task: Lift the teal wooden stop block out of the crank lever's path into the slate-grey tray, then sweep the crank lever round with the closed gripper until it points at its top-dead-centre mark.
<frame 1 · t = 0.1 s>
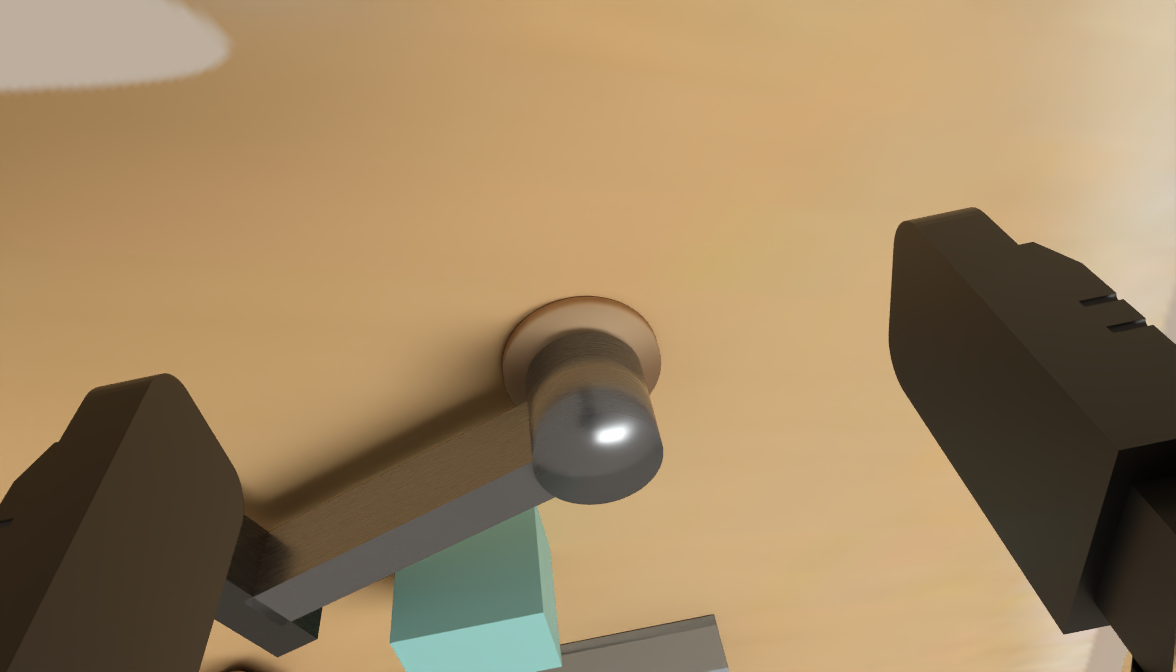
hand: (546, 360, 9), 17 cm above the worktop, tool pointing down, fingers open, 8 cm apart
stop block: (477, 534, 38), on the worktop
crank: (430, 496, 31), point 3 cm above the worktop, hinge at -70.0°
crank base: (580, 360, 32), on the worktop
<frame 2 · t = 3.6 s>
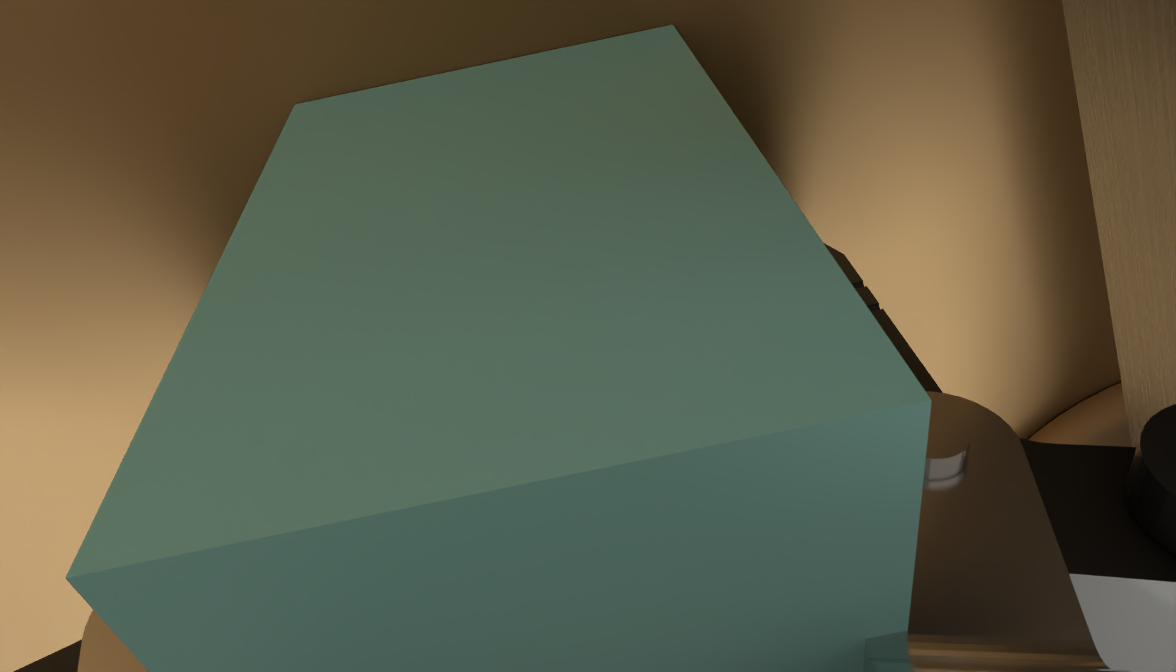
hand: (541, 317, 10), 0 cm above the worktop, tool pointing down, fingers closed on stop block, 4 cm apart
stop block: (542, 299, 10), on the worktop, touching gripper
crank base: (1140, 498, 14), on the worktop
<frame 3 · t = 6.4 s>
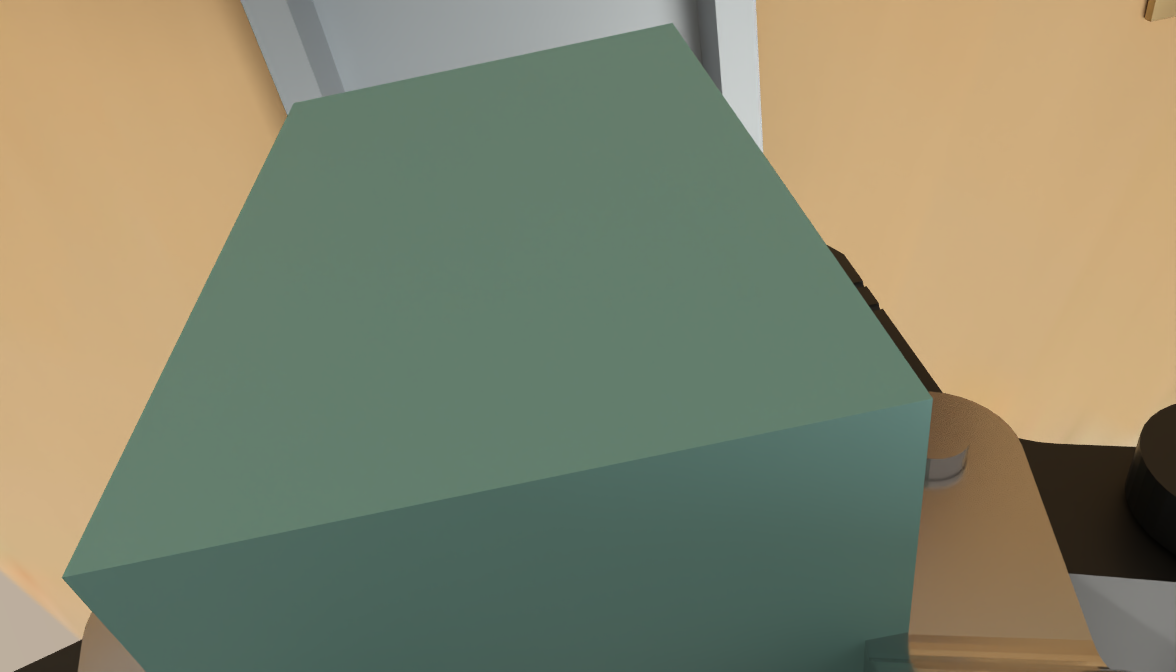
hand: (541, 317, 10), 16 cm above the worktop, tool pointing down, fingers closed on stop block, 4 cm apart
stop block: (541, 299, 10), point 15 cm above the worktop, touching gripper
when the fingers open (2 cm above the worktop, at t = 9.2 s): stop block drops 1 cm, resting on tray.
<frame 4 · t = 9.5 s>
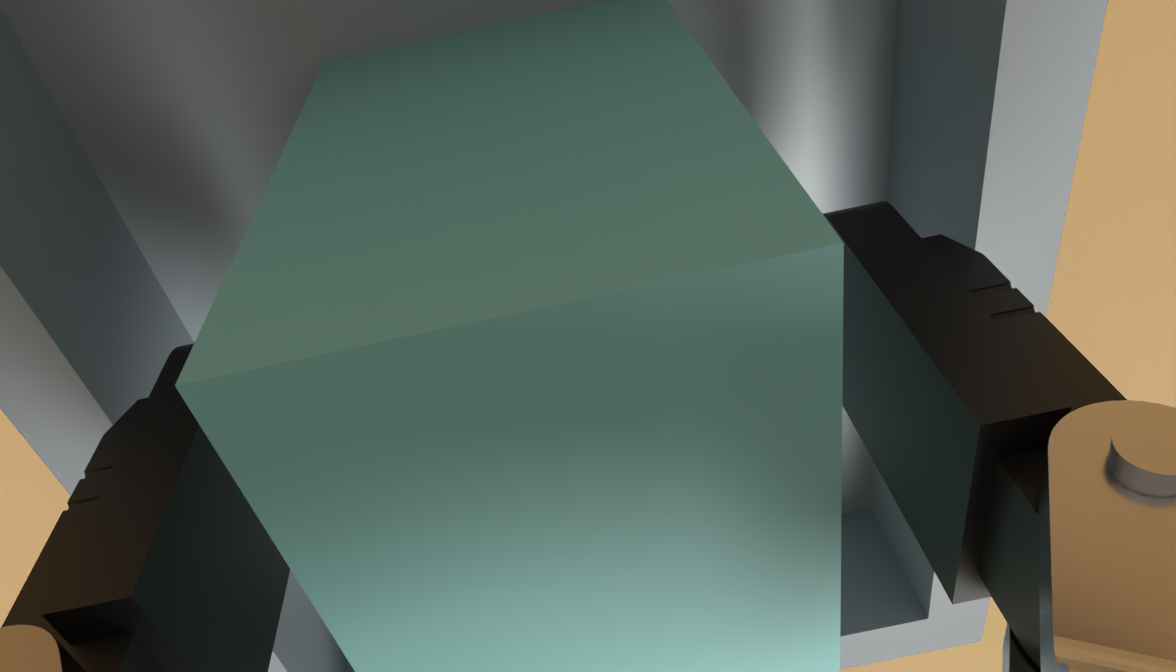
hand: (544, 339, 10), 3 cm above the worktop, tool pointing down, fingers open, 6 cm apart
stop block: (543, 244, 11), point 1 cm above the worktop, touching tray
tray: (530, 225, 12), on the worktop
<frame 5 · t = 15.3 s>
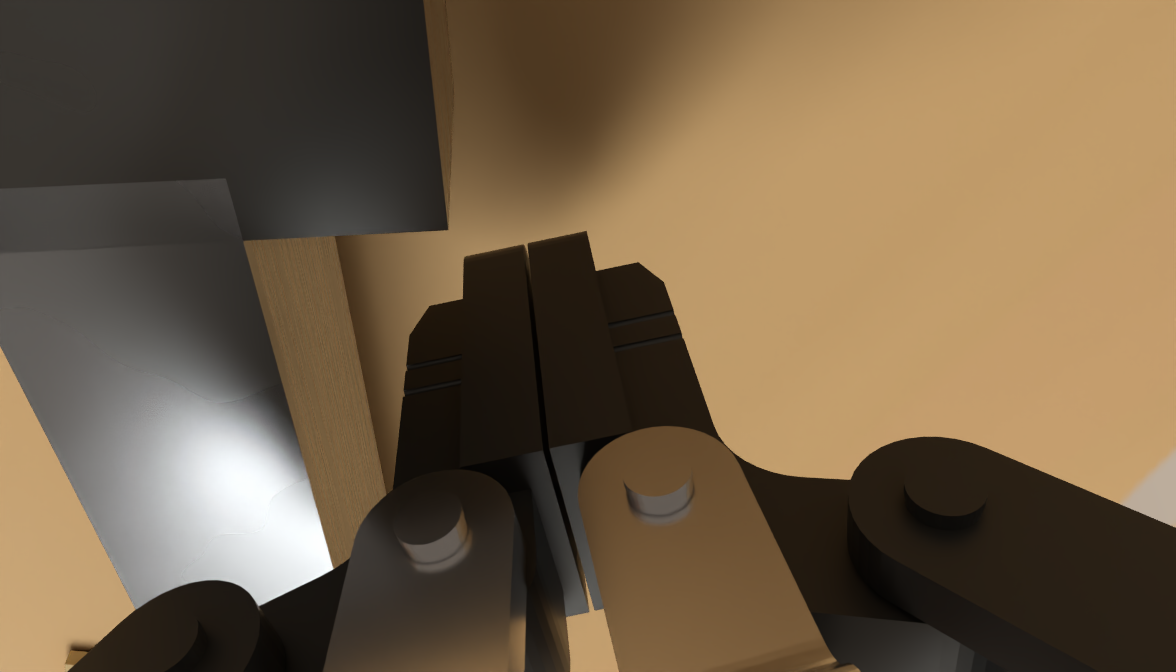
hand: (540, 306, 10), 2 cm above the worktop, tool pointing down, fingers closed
crank: (319, 625, 12), point 3 cm above the worktop, hinge at -70.7°, touching gripper
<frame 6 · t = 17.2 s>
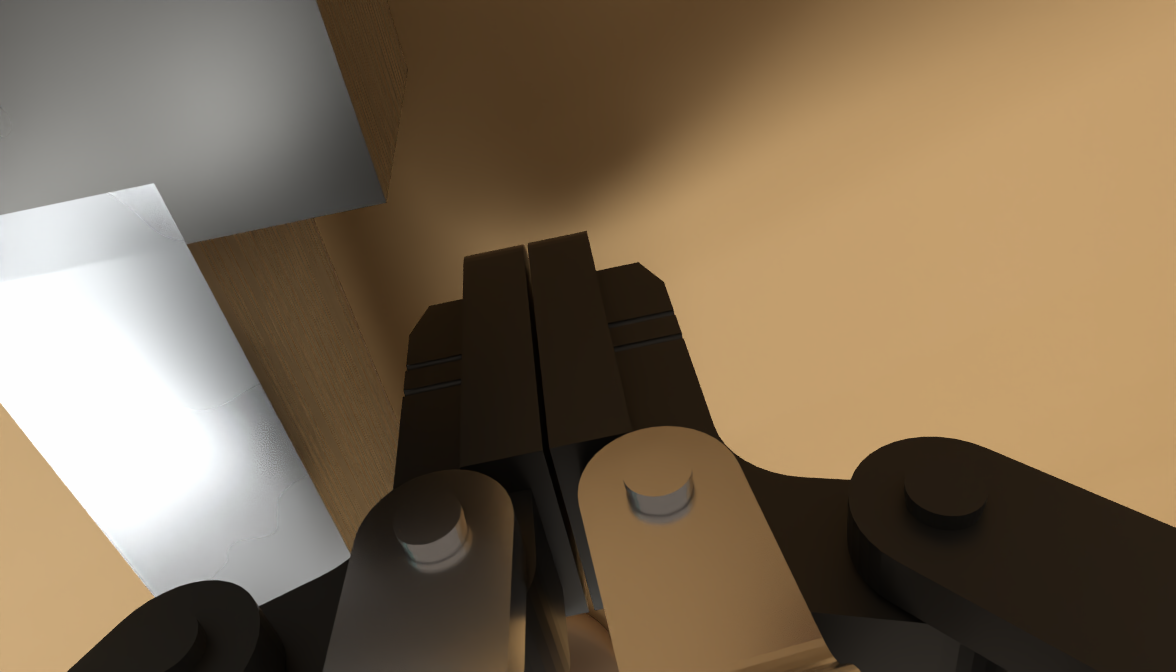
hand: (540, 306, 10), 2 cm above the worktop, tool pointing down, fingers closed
crank: (377, 622, 12), point 3 cm above the worktop, hinge at -32.8°, touching gripper
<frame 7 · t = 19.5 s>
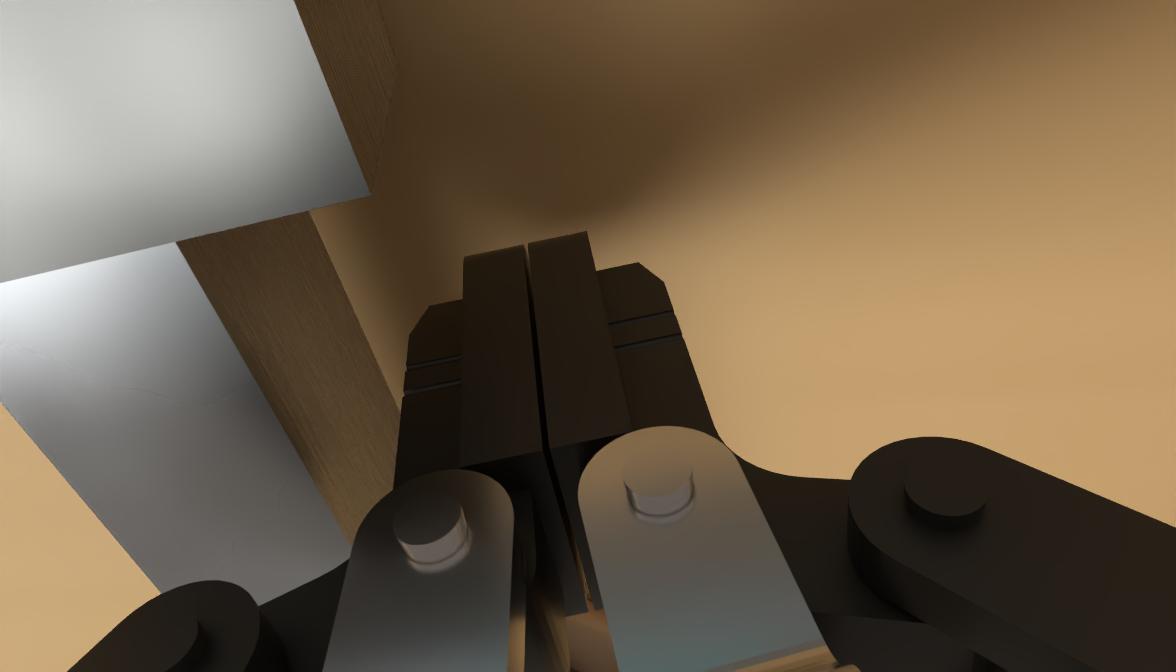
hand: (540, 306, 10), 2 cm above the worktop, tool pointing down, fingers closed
crank: (387, 616, 12), point 3 cm above the worktop, hinge at -1.5°, touching gripper
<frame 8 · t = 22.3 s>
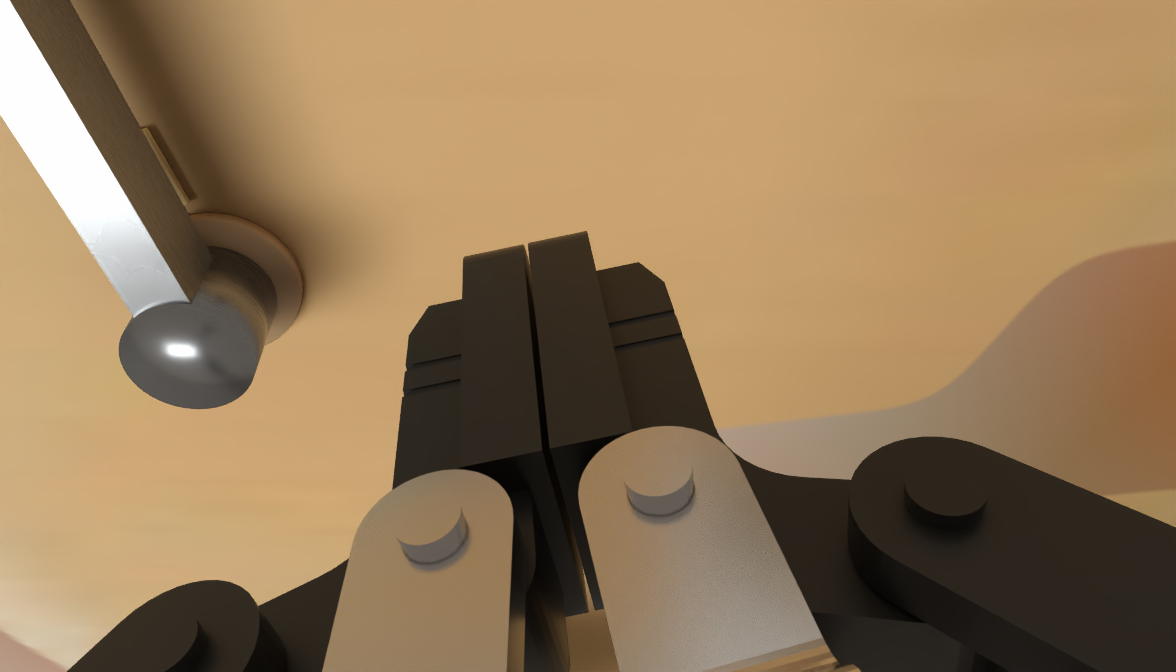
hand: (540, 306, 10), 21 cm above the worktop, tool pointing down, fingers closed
crank: (101, 155, 26), point 3 cm above the worktop, hinge at -1.5°
crank base: (224, 280, 33), on the worktop
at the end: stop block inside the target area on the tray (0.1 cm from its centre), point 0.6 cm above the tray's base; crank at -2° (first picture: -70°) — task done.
